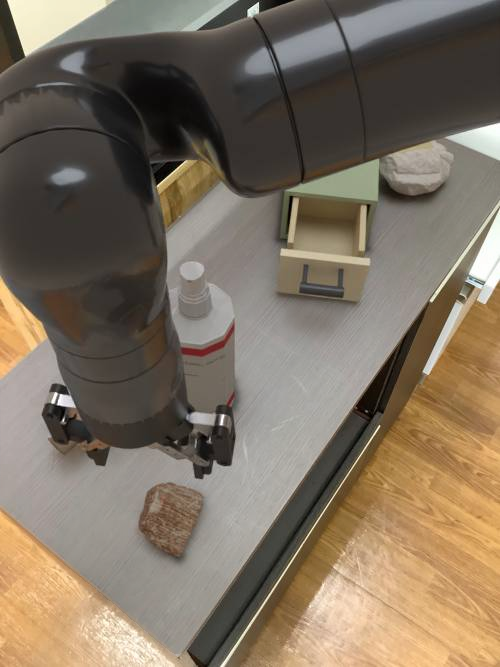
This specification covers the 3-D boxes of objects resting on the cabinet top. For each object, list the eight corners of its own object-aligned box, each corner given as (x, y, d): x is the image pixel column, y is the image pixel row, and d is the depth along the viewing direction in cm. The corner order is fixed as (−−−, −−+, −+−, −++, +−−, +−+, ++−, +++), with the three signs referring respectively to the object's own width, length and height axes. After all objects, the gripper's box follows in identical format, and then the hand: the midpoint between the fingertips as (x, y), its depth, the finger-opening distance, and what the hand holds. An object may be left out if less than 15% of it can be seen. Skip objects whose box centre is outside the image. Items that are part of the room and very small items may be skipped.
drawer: (358, 328, 83) (369, 292, 76) (273, 317, 83) (276, 281, 77) (363, 223, 93) (372, 184, 86) (287, 215, 93) (290, 175, 87)
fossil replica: (459, 187, 99) (413, 156, 104) (476, 141, 93) (425, 111, 97) (407, 215, 94) (361, 182, 99) (420, 169, 88) (370, 136, 92)
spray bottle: (166, 418, 76) (140, 297, 55) (178, 366, 80) (158, 233, 59) (230, 426, 75) (228, 307, 54) (238, 373, 80) (240, 243, 59)
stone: (160, 555, 69) (186, 561, 66) (120, 534, 66) (146, 539, 63) (185, 494, 73) (212, 497, 69) (148, 472, 70) (175, 474, 66)
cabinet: (365, 248, 91) (378, 200, 83) (279, 238, 92) (284, 190, 84) (368, 174, 100) (380, 125, 92) (290, 166, 100) (294, 116, 92)
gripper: (242, 334, 42) (239, 432, 56) (35, 308, 43) (83, 412, 56) (225, 436, 38) (227, 516, 51) (-3, 406, 39) (58, 492, 52)
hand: (152, 461), depth 54 cm, fingers open, 8 cm apart
